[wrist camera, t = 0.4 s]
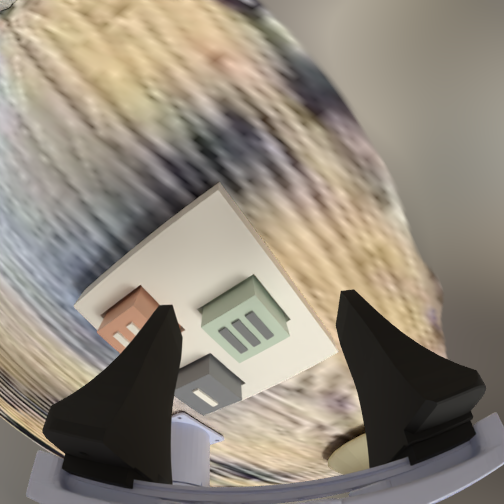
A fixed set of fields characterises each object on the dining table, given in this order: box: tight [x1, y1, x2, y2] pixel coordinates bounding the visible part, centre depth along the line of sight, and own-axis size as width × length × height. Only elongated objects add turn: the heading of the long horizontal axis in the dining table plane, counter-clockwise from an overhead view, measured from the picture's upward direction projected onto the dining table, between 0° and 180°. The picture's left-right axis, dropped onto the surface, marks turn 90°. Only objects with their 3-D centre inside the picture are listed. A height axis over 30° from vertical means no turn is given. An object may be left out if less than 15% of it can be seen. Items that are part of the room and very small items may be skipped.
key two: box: [97, 285, 181, 354], centre depth 21 cm, size 4×4×3 cm
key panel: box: [74, 182, 339, 414], centre depth 23 cm, size 15×17×2 cm
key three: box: [201, 274, 290, 363], centre depth 21 cm, size 4×4×3 cm
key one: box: [174, 353, 242, 416], centre depth 24 cm, size 4×4×3 cm
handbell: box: [328, 433, 369, 475], centre depth 27 cm, size 15×15×25 cm
